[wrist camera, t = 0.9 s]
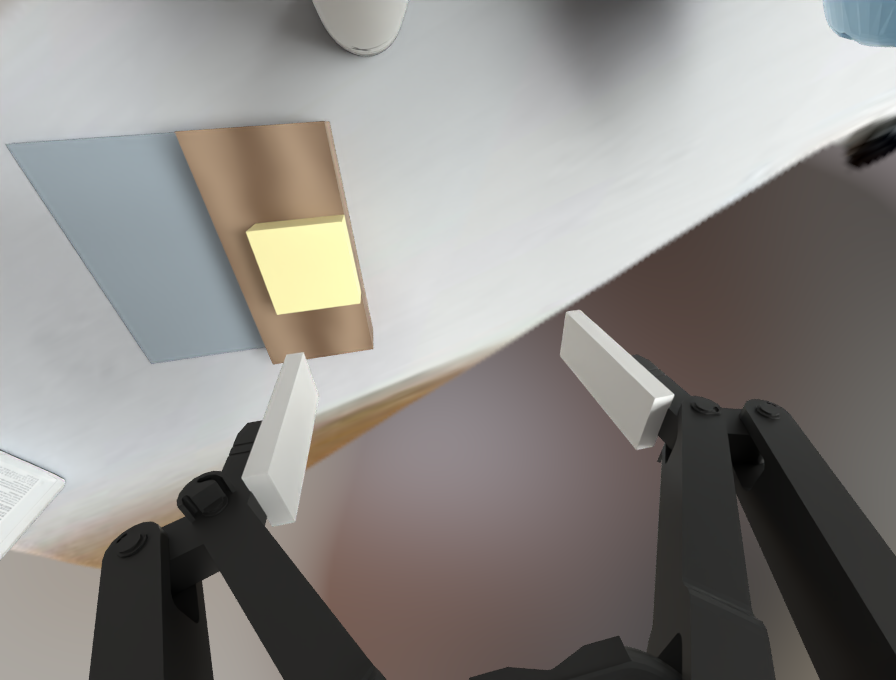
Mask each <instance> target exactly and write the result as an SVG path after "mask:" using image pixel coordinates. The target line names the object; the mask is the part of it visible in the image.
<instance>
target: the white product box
mask: <svg viewBox="0 0 896 680" xmlns="http://www.w3.org/2000/svg"><path fill="white" fill-rule="evenodd" d="M64 486H65V480H64V479H62V478H60V477H59V476H57V475H55V474H53V473H50V472H48V471H46V470H44V469H41V468H39V467H37V466H34V465H32V464H30V463H28V462H25V461H23V460H21V459H18V458H16V457H14V456H11V455H9V454H7V453H5V452H3V451H0V560H1V559H2V558H3V557H4V556H5V554H6V553H7V552H8V551H9V550H10V549H11V547H12V546H13V545H14V544H15V543H16V542H17V541H18V539H19V538H20V537H21V536H22V535H23V534H24V533H25V531H26V530H27V529H28V528H29V527H30V526H31V525H32V523H33V522H34V521H35V520H36V519H37V518H38V516H39V515H40V514H41V513H42V512H43V511H44V510H45V508H46V507H47V506H48V505H49V504H50V503H51V501H52V500H53V499H54V498H55V497H56V496H57V495H58V493H59V492H60V491H61V490H62V489H63V488H64Z"/></svg>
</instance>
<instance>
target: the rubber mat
mask: <svg viewBox="0 0 896 680" xmlns="http://www.w3.org/2000/svg"><path fill="white" fill-rule="evenodd" d="M6 146H7V147H8V149H9V150H10V152H11V153H12V155H13V156H14V158H15V159H16V161H17V162H18V164H19V165H20V167H21V168H22V170H23V171H24V173H25V174H26V176H27V177H28V179H29V181H30V182H31V184H32V185H33V187H34V188H35V190H36V191H37V193H38V194H39V196H40V197H41V199H42V200H43V202H44V203H45V205H46V206H47V208H48V209H49V211H50V212H51V214H52V215H53V217H54V218H55V220H56V221H57V223H58V224H59V226H60V227H61V229H62V230H63V232H64V233H65V235H66V236H67V238H68V239H69V241H70V242H71V244H72V245H73V247H74V248H75V250H76V251H77V253H78V254H79V256H80V257H81V259H82V260H83V262H84V263H85V265H86V266H87V268H88V269H89V271H90V272H91V274H92V275H93V277H94V278H95V280H96V281H97V283H98V284H99V286H100V287H101V289H102V290H103V292H104V293H105V295H106V296H107V298H108V299H109V301H110V302H111V304H112V305H113V307H114V309H115V310H116V312H117V313H118V315H119V316H120V318H121V319H122V321H123V322H124V324H125V325H126V327H127V328H128V330H129V331H130V333H131V334H132V336H133V337H134V339H135V340H136V342H137V343H138V345H139V346H140V348H141V349H142V351H143V352H144V354H145V355H146V357H147V358H148V360H149V361H150V363H151V364H154V363H161V362H168V361H175V360H181V359H188V358H195V357H202V356H208V355H215V354H222V353H229V352H235V351H242V350H249V349H256V348H262V347H265V345H264V342H263V340H262V337H261V335H260V333H259V330H258V328H257V326H256V323H255V321H254V319H253V316H252V314H251V311H250V309H249V307H248V304H247V302H246V300H245V297H244V295H243V293H242V290H241V288H240V285H239V283H238V281H237V278H236V276H235V274H234V271H233V269H232V267H231V264H230V262H229V259H228V257H227V255H226V252H225V250H224V248H223V245H222V243H221V241H220V238H219V236H218V233H217V231H216V229H215V226H214V224H213V222H212V219H211V217H210V215H209V212H208V210H207V207H206V205H205V203H204V200H203V198H202V196H201V193H200V191H199V189H198V186H197V184H196V181H195V179H194V177H193V174H192V172H191V170H190V167H189V165H188V163H187V160H186V158H185V155H184V153H183V151H182V148H181V146H180V144H179V141H178V139H177V137H176V134H175V132H172V133H158V134H144V135H129V136H115V137H101V138H86V139H72V140H57V141H43V142H29V143H14V144H6Z"/></svg>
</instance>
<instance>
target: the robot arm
mask: <svg viewBox="0 0 896 680" xmlns="http://www.w3.org/2000/svg"><path fill="white" fill-rule="evenodd" d="M823 6H824V12H825V16H826V20H827V22H828V24H829V26H830V28H831V29H832V30H833V31H834V32H835V33H836V34H837V35H839V36H840V37H843V38H846V39H850V40H854V41H857V42H858V43H859V44H862V45H866V46H875V47H896V0H823ZM560 356H561V358H563V360H564V361H565V363H567V365H568V366H569V367H570V368H571V370H572V371H573V372H574V374H575V375H576V376H577V377H578V379H579V380H580V381H581V382H582V383H583V385H584V386H585V387H586V388H587V390H588V391H589V392H590V393H591V395H592V396H593V397H594V398H595V399H596V401H597V402H598V403H599V404H600V406H601V407H602V408H603V409H604V411H605V412H606V413H607V414H608V416H609V417H610V418H611V419H612V420H613V421H614V423H615V424H616V425H617V427H618V428H619V429H620V430H621V431H622V433H623V434H624V435H625V437H626V438H627V439H628V440H629V441H630V443H631V444H632V445H633V446H634V448H635V449H636V450H638V449H643V448H648V447H653V446H654V445H655V442H656V440H657V437H658V436H659V437H660V438H661V439H662V440H663V441H664V442H665V444H664V446H663V449H662V451H661V454H660V456H659V458H658V462H661V460H662V468H661V486H660V503H659V521H658V540H657V557H656V558H657V559H656V575H655V576H656V577H655V594H654V612H653V625H652V630H651V634H650V638H649V641H648V647H647V653H646V652H644V651H641V650H639V649H635V648H631V647H627V646H624V645H623V643H622V641H621V639H620V637H619V636H616V637H612V638H609V639H605V640H602V641H598V642H595V643H591V644H588V645H584V646H583V647H581V648H580V649H579V650H577V651H576V652H575V653H574V654H572V655H571V656H569V657H568V658H567V659H566V660H564V661H563V662H562V663H560V664H559V665H558V666H556V667H555V668H553V669H551V670H537V669H525V668H512V667H506V668H503V669H499V670H496V671H492V672H488V673H485V674H482V675H478V676H474V677H471V678H469V680H776V679H775V673H774V667H773V661H772V655H771V648H770V642H769V637H768V633H767V629H766V628H765V626H764V624H763V622H762V621H760V620H759V619H757V618H756V617H755V616H754V614H753V612H752V608H751V601H750V594H749V586H748V579H747V572H746V564H745V557H744V550H743V542H742V536H741V529H740V521H739V513H738V506H737V499H736V495H737V497H738V499H739V501H740V503H741V506H742V508H743V510H744V512H745V514H746V517H747V519H748V521H749V523H750V526H751V528H752V530H753V532H754V535H755V537H756V539H757V541H758V543H759V546H760V547H761V550H762V552H763V554H764V557H765V559H766V561H767V563H768V565H769V568H770V570H771V572H772V574H773V577H774V579H775V581H776V583H777V585H778V588H779V590H780V592H781V594H782V596H783V599H784V601H785V603H786V606H787V607H788V610H789V612H790V614H791V617H792V619H793V621H794V623H795V625H796V628H797V630H798V632H799V634H800V637H801V639H802V641H803V643H804V645H805V648H806V650H807V652H808V654H809V656H810V658H811V661H812V663H813V665H814V668H815V670H816V672H817V674H818V677H819V678H820V680H896V556H895V555H894V553H893V552H892V551H891V550H890V548H889V547H888V545H887V544H886V543H885V541H884V540H883V539H882V537H881V536H880V534H879V533H878V532H877V530H876V529H875V528H874V526H873V525H872V524H871V522H870V521H869V520H868V518H867V517H866V516H865V514H864V513H863V512H862V510H861V509H860V508H859V506H858V505H857V504H856V502H855V501H854V500H853V498H852V497H851V495H850V494H849V493H848V492H847V490H846V489H845V487H844V486H843V485H842V484H841V482H840V481H839V479H838V478H837V477H836V475H835V474H834V473H833V471H832V470H831V469H830V467H829V466H828V465H827V463H826V462H825V461H824V459H823V458H822V457H821V455H820V454H819V452H818V451H817V450H816V448H815V447H814V446H813V445H812V443H811V442H810V440H809V439H808V438H807V436H806V435H805V434H804V433H803V431H802V430H801V428H800V427H799V426H798V424H797V423H796V422H795V420H794V419H793V418H792V416H791V415H790V414H789V413H788V412H787V411H786V410H785V409H783V408H782V407H780V406H778V405H776V404H774V403H771V402H769V401H764V400H759V399H752V400H749V401H747V402H746V403H745V405H744V407H743V409H728V408H721V407H720V406H719V405H718V404H716V403H715V402H713V401H711V400H709V399H706V398H703V397H698V396H690V395H689V394H688V393H687V392H686V391H684V390H683V389H682V388H681V387H680V386H678V385H677V384H676V383H675V382H674V381H673V380H672V379H670V378H669V377H668V376H667V375H665V374H664V373H663V372H662V371H661V370H660V369H658V368H657V367H656V366H655V365H654V364H653V363H651V361H649V360H648V359H645V358H643V357H641V356H639V355H630V354H629V353H628V352H626V351H625V350H624V349H623V348H622V347H621V346H620V345H619V344H617V343H616V342H615V341H614V340H613V339H612V338H611V337H610V336H608V335H607V334H606V333H605V332H604V331H603V330H602V329H601V328H600V327H599V326H597V325H596V324H595V323H594V322H593V321H592V320H591V319H590V318H588V317H587V316H586V315H585V314H584V313H583V312H582V311H581V310H576V311H569V312H566V317H565V323H564V330H563V337H562V344H561V351H560ZM318 401H319V394H318V391H317V388H316V386H315V383H314V380H313V377H312V374H311V372H310V369H309V366H308V363H307V360H306V358H305V355H304V352H301V353H294V354H288V355H286V357H285V360H284V363H283V366H282V368H281V371H280V374H279V376H278V379H277V382H276V385H275V387H274V390H273V393H272V396H271V398H270V401H269V404H268V406H267V409H266V412H265V415H264V417H263V420H262V421H256V422H250V423H247V424H246V425H245V426H244V428H243V429H242V430H241V431H240V432H239V433H238V435H237V437H236V439H235V442H234V444H233V447H232V449H231V451H230V453H229V457H228V458H227V460H226V463H225V465H224V467H223V470H222V472H221V471H211V472H207V473H204V474H202V475H200V476H198V477H196V478H194V479H193V480H192V481H191V482H189V483H188V484H187V485H186V486H185V487H184V488H183V490H182V491H181V492H180V494H179V496H178V499H177V506H178V508H179V509H180V510H181V512H182V513H183V514H184V515H185V517H183V518H181V519H179V520H177V521H175V522H172V523H170V524H168V525H166V526H164V527H162V528H161V527H160V526H159V525H158V524H156V523H154V522H143V523H140V524H138V525H135V526H133V527H131V528H130V529H128V530H126V531H125V532H123V533H122V534H121V535H120V536H118V537H117V538H116V539H115V540H114V541H113V542H112V543H111V545H110V546H109V547H108V549H107V550H106V551H105V554H104V557H103V560H102V568H101V577H100V586H99V595H98V603H97V604H98V605H97V613H96V621H95V630H94V639H93V648H92V657H91V666H90V674H89V680H214V679H213V670H212V662H211V653H210V645H209V636H208V628H207V619H206V611H205V603H204V594H203V587H202V586H203V585H202V580H204V579H205V578H208V577H209V576H211V575H213V574H215V573H217V572H219V571H220V572H221V574H222V575H223V577H224V579H225V581H226V582H227V584H228V586H229V587H230V589H231V591H232V592H233V594H234V596H235V598H236V599H237V600H238V602H239V604H240V606H241V608H242V609H243V611H244V613H245V614H246V616H247V618H248V620H249V621H250V623H251V625H252V626H253V628H254V629H255V631H256V633H257V635H258V636H259V638H260V640H261V642H262V643H263V645H264V647H265V648H266V650H267V652H268V653H269V655H270V657H271V659H272V660H273V662H274V664H275V665H276V667H277V668H278V670H279V672H280V674H281V675H282V677H283V679H284V680H386V678H385V677H384V676H383V675H382V674H381V672H380V671H379V670H378V669H377V668H376V667H375V666H374V665H373V664H372V663H371V661H370V660H369V659H368V658H367V657H366V655H365V654H364V653H363V651H362V650H361V649H360V647H359V646H358V645H357V643H356V642H355V641H354V640H353V638H352V637H351V636H350V635H349V634H348V632H347V631H346V629H345V628H344V627H343V626H342V624H341V623H340V622H339V620H338V619H337V618H336V617H335V615H334V614H333V613H332V612H331V610H330V609H329V608H328V606H327V605H326V604H325V603H324V601H323V600H322V599H321V598H320V596H319V595H318V594H317V592H316V591H315V590H314V589H313V587H312V586H311V585H310V584H309V582H308V581H307V580H306V578H305V577H304V576H303V574H301V572H300V571H299V569H298V568H297V567H296V566H295V564H294V563H293V562H292V560H291V559H290V558H289V557H288V555H287V554H286V553H285V551H284V550H283V549H282V548H281V546H280V545H279V544H278V542H277V541H276V540H275V539H274V537H273V536H272V535H271V534H270V532H269V531H268V530H267V528H266V527H265V523H266V519H268V521H269V522H270V524H271V525H272V527H274V526H279V525H284V524H288V523H293V522H295V521H296V516H297V511H298V505H299V499H300V494H301V490H302V484H303V478H304V474H305V469H306V463H307V458H308V453H309V448H310V442H311V437H312V432H313V427H314V421H315V416H316V411H317V406H318Z"/></svg>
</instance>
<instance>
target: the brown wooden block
mask: <svg viewBox="0 0 896 680" xmlns="http://www.w3.org/2000/svg"><path fill="white" fill-rule="evenodd" d="M175 134H176V137H177V139H178V141H179V144H180V146H181V148H182V151H183V153H184V155H185V158H186V160H187V163H188V165H189V167H190V170H191V172H192V174H193V177H194V179H195V181H196V184H197V186H198V189H199V191H200V193H201V196H202V198H203V200H204V203H205V205H206V207H207V210H208V212H209V215H210V217H211V219H212V222H213V224H214V226H215V229H216V231H217V233H218V236H219V238H220V241H221V243H222V245H223V248H224V250H225V252H226V255H227V257H228V259H229V262H230V264H231V267H232V269H233V271H234V274H235V276H236V278H237V281H238V283H239V285H240V288H241V290H242V293H243V295H244V297H245V300H246V302H247V304H248V307H249V309H250V311H251V314H252V316H253V319H254V321H255V323H256V326H257V328H258V330H259V333H260V335H261V337H262V340H263V342H264V345H265V347H266V349H267V352H268V354H269V356H270V359H271V361H272V363H273V364H279V363H284V360H285V357H286V355H288V354H294V353H301V352H304V355H305V358H306V359H312V358H318V357H325V356H331V355H338V354H344V353H350V352H357V351H363V350H370V349H373V327H372V322H371V318H370V313H369V308H368V303H367V298H366V294H365V289H364V284H363V279H362V275H361V270H360V265H359V260H358V256H357V251H356V246H355V241H354V236H353V232H352V227H351V222H350V217H349V213H348V208H347V203H346V198H345V194H344V189H343V184H342V179H341V174H340V170H339V165H338V160H337V155H336V151H335V146H334V141H333V136H332V131H331V127H330V122H328V121H320V122H306V123H291V124H277V125H262V126H248V127H233V128H219V129H205V130H190V131H176V132H175ZM334 215H344V216H345V221H346V225H347V230H348V234H349V239H350V244H351V248H352V253H353V257H354V262H355V267H356V271H357V276H358V280H359V285H360V290H361V300H360V304H353V305H345V306H338V307H331V308H324V309H316V310H309V311H302V312H294V313H287V314H280V315H277V313H276V311H275V308H274V306H273V303H272V300H271V298H270V295H269V292H268V290H267V287H266V284H265V282H264V279H263V276H262V274H261V271H260V268H259V266H258V263H257V261H256V258H255V255H254V253H253V250H252V247H251V245H250V242H249V239H248V237H247V234H246V231H247V230H248V229H250V228H251V227H252V226H253V225H254V224H257V223H267V222H276V221H286V220H295V219H305V218H315V217H324V216H334Z"/></svg>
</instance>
